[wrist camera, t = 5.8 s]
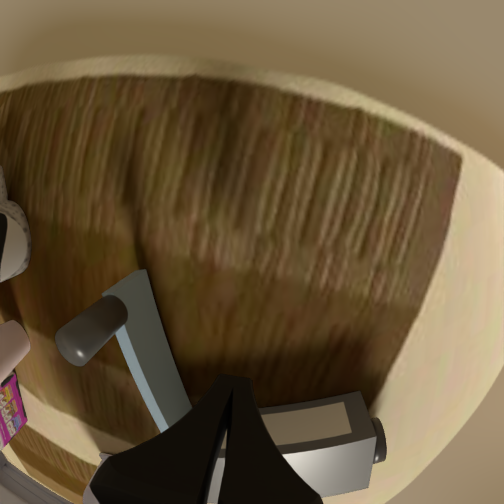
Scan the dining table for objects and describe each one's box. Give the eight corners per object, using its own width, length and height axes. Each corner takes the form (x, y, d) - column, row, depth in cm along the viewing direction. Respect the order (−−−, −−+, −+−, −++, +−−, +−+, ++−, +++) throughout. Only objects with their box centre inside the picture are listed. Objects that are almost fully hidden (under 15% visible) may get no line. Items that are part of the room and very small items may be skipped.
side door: (201, 414, 20) (175, 496, 12) (180, 413, 20) (149, 492, 12) (153, 267, 17) (76, 326, 9) (129, 271, 17) (48, 326, 9)
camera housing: (212, 464, 22) (204, 502, 17) (184, 411, 20) (168, 455, 15) (370, 444, 20) (381, 483, 15) (374, 385, 19) (394, 430, 14)
